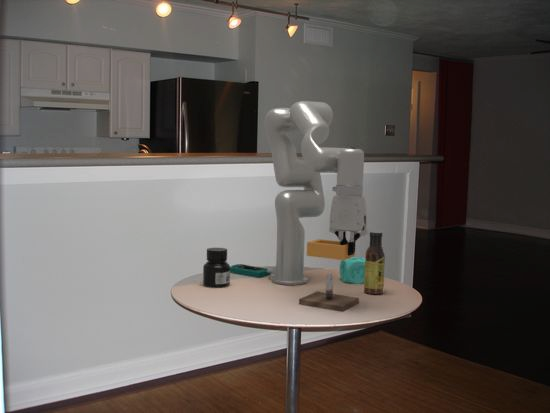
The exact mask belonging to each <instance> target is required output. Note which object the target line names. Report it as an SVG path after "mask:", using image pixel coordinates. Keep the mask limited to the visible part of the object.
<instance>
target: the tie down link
mask: <svg viewBox="0 0 550 413" xmlns="http://www.w3.org/2000/svg"><path fill="white" fill-rule="evenodd" d="M306 257H312V258H313V257H314V258H315V257H316V258H322V259H331V260H332V259H333V260H339V261H340V260H341V261H342V260H346V259H349V258H352V257H356V251H355V252H354V254H353V255H351V256H349V255H348V244H345V245H340V241H339V240H328V239H319V238H318V239H315V240H311V241H308V242H306Z"/></svg>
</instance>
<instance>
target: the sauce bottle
mask: <svg viewBox="0 0 550 413" xmlns="http://www.w3.org/2000/svg"><path fill="white" fill-rule="evenodd" d="M382 238H383V232H382V231H377V230H375V231H369V246H368V248H367V249H366V251H365V259H366V260H365V275H364V283H363V289H364V290H363V291H364V293H366V294H370V295H382V294H383V293H384V292H383V291H384V285H385V283H384V281H385V280H384V279H385V265H386V264H385V261H386V260H385V259H386V256H385V253H384V249H383V246H382V245H383V243H382V240H383V239H382Z"/></svg>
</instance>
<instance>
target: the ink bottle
mask: <svg viewBox="0 0 550 413" xmlns="http://www.w3.org/2000/svg"><path fill="white" fill-rule="evenodd" d="M206 260H207V261H206V263H204V265H203V268H202V269H203V270H202V285H203V286H205V287H209V288H225V287H227V286H229V285H230V284H231V273H230V267H231V266H230V264H229V263H228V248H224V247H208V248H207V249H206Z"/></svg>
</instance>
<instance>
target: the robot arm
mask: <svg viewBox="0 0 550 413" xmlns="http://www.w3.org/2000/svg"><path fill="white" fill-rule="evenodd" d="M333 118H334V112H333V109H332V107H331V105H329V104H328V103H326V102H323V101H311V100H310V101H309V100H301V101H296V102H295V103H293V104H292V105H291V107H275V108H272V109H271V110H269V111H268V112H267V113H266V114H265V118H264V134H265V137H266V139H267V142H268V145H269V148H270V151H271V156H272V158H271V159H272V163H273V164H272V165H273V170H274V177H275V181H276V183H277V185H278V186H280V187H281V188H303V189H285V190H282V191H280V192H278V193H277V195H276V196H275V198H274V208H275V216H276V256H275V257H276V259H275V260H276V264H275V266H274V267H273V266H268V267H266V268H267V273H271V274H272V276H271V278H270V279H271V282H273V283H275V284H277V285H286V286H287V285H288V286H296V285H297V286H298V285H304V284H306V283H308V281H309V279H308V277H307V276H304V273H305V272H304V269H305V268H304V266H305V240H306V239H305V238H306V237H305V228H304V226H303V224H302V223H301V221H300V219H301V218H318V217H320V216H322V214H324V211H325V209H326V208H325V207H326V204H325V202H326V201H325V194H324V188H323V182H322V175H321V173H322V174H326V173H327V174H328V173H329V174H333V173H334V174H336V185H335V186H332V191H333V192H335V195H333V198H332V201H331V202H332V203H331V205H330V213H329V229H328V230H329V231H328V232H330V233H331V234H334V235H335V236H336V237H337V239H338V241H340V245H345V244H348V255H349V256H351V255H353V254H354V252H355V253H356V241H358V239H360V238H361V237H363V236H367V235H368V234H369V232H368V227H367V226H368V225H367V224H368V223H367V222H368V220H367V219H368V218H367V217H368V216H367V215H368V214H367V203H366V198H365V196H363V192H364V169H365V168H364V164H365V153H364V151H363V150H362V149H360V148H346V147H327V146H326V147H323V146H321V147H320V146H319V145H322V144H323V143H324V142H325V141H326V140H327V139H328V137H329V135H330V126H331V124H332V122H333ZM287 133H288V134H300V135H301V136H302V138H301V139H302V140H301V144H300V153H301V156H302V158H303V159H299V158H298V155H297V150H296V146H295V144H294V142H293V140H291V138H290V137H289V136H287ZM347 232H349V241H348V239H347Z"/></svg>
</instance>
